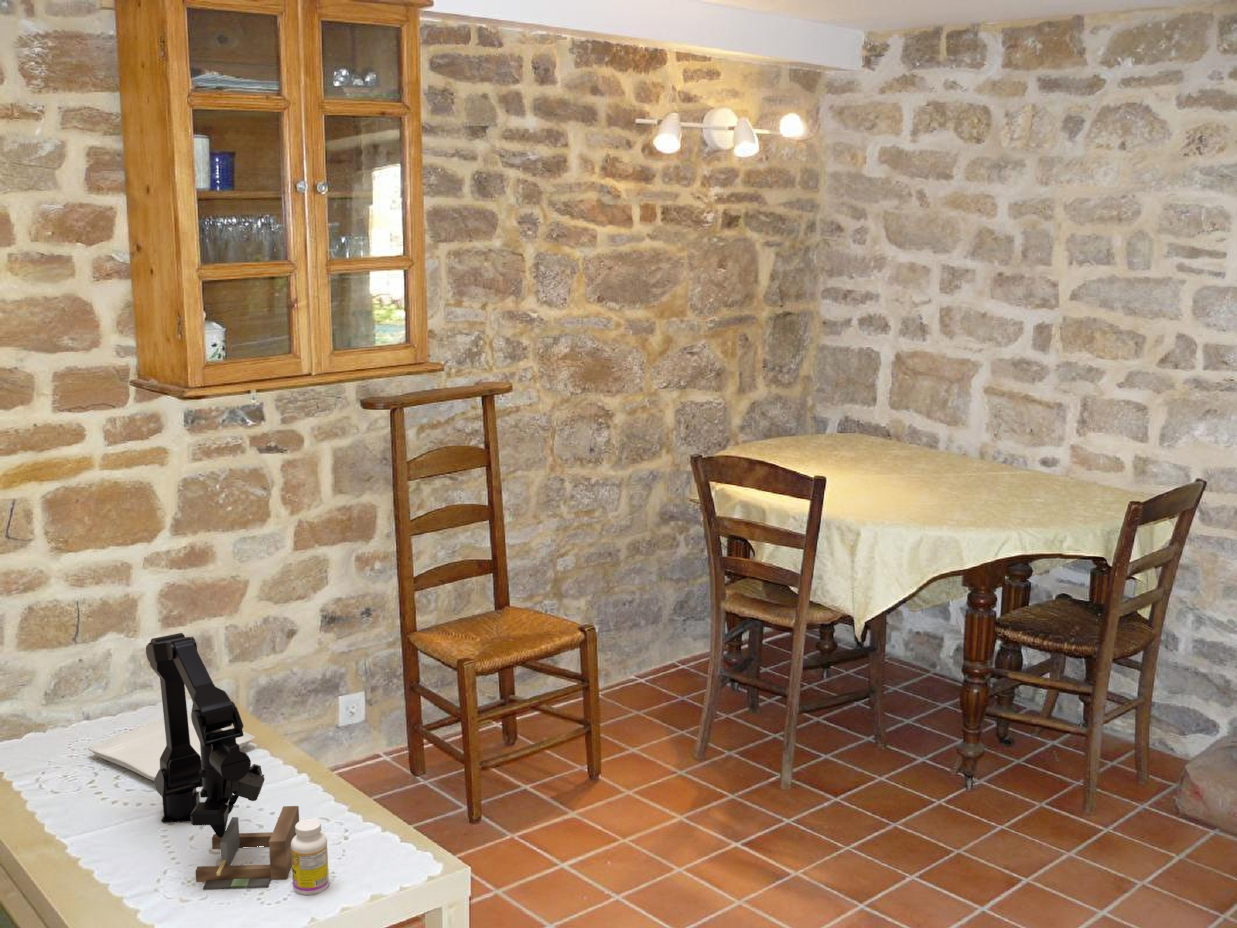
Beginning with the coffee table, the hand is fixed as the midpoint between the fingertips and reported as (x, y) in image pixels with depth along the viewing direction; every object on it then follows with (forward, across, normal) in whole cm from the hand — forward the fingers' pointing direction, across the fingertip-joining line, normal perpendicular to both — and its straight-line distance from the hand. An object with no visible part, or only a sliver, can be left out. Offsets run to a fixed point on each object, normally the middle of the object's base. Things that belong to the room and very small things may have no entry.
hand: (221, 836), depth 241 cm
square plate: (+6, +51, +24) cm, 56 cm away
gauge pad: (+5, -2, -2) cm, 5 cm away
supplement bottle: (+6, -10, -19) cm, 22 cm away
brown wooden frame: (+6, -1, -5) cm, 8 cm away
